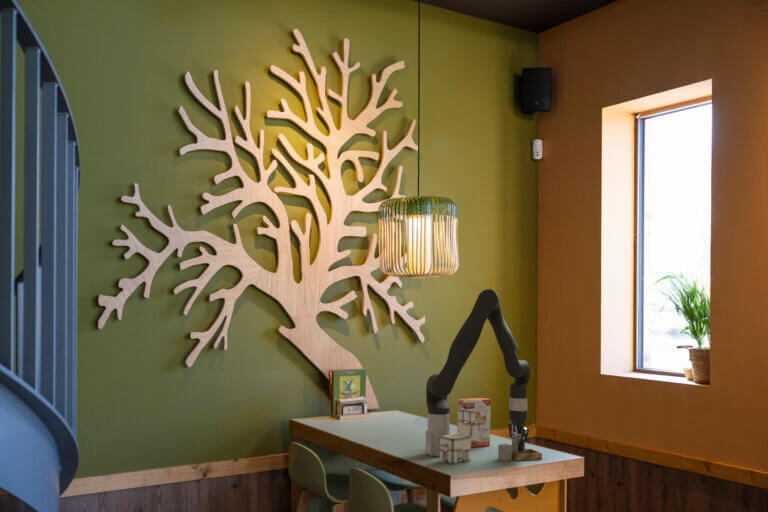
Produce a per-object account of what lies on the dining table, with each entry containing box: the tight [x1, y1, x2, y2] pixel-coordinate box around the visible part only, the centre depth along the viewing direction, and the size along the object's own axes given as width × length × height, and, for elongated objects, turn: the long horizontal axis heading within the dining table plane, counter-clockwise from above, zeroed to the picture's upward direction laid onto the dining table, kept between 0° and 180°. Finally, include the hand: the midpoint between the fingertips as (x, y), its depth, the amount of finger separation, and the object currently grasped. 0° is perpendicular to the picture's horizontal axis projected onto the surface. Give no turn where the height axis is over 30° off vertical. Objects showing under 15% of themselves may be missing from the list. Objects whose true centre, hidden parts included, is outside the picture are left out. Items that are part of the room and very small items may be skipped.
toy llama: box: [439, 408, 480, 466], centre depth 297 cm, size 8×18×20 cm, turn 128°
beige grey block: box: [497, 443, 513, 462], centre depth 300 cm, size 4×4×6 cm
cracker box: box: [456, 397, 492, 448], centre depth 327 cm, size 14×6×21 cm, turn 112°
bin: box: [512, 448, 543, 462], centre depth 304 cm, size 12×9×2 cm
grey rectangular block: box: [511, 437, 526, 453], centre depth 303 cm, size 4×4×6 cm
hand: (518, 450), depth 303 cm, fingers closed on grey rectangular block, 3 cm apart
